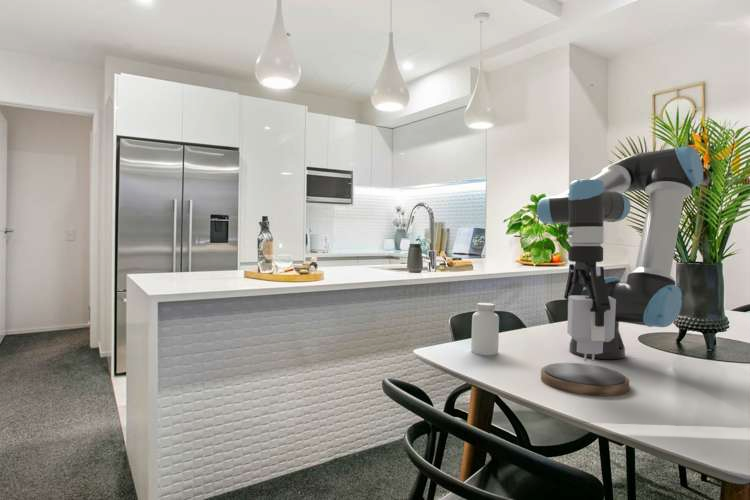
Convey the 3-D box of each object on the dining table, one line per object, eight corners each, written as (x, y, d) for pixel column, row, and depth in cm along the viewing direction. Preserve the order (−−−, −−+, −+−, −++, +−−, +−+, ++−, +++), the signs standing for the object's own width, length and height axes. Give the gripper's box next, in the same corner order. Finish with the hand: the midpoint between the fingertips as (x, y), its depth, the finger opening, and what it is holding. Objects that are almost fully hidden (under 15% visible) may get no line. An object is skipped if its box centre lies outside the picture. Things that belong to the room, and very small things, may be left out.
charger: (614, 365, 100) (617, 300, 98) (571, 364, 101) (573, 299, 100) (606, 358, 105) (609, 295, 103) (565, 356, 106) (567, 295, 104)
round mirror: (605, 372, 115) (605, 363, 115) (646, 397, 96) (646, 385, 96) (531, 370, 116) (531, 361, 116) (556, 394, 97) (557, 383, 97)
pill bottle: (499, 357, 130) (500, 306, 130) (471, 355, 132) (472, 304, 132) (497, 351, 138) (498, 302, 138) (471, 349, 139) (471, 301, 139)
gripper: (551, 244, 118) (551, 324, 119) (592, 245, 93) (591, 346, 94) (580, 244, 118) (579, 324, 118) (628, 245, 93) (627, 346, 93)
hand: (584, 334), depth 106 cm, fingers open, 13 cm apart
